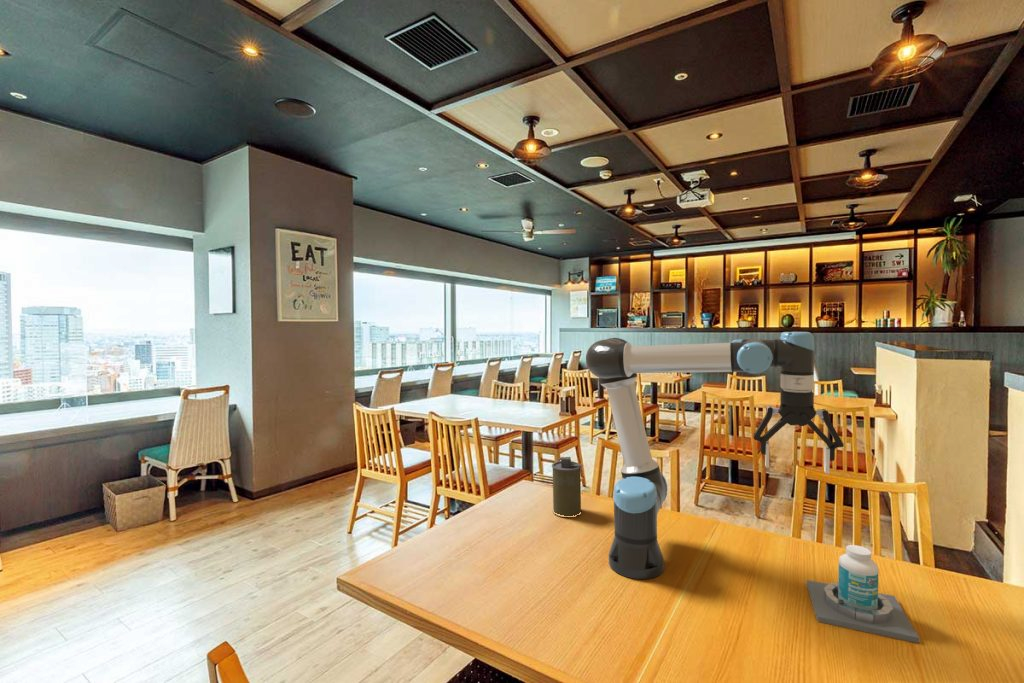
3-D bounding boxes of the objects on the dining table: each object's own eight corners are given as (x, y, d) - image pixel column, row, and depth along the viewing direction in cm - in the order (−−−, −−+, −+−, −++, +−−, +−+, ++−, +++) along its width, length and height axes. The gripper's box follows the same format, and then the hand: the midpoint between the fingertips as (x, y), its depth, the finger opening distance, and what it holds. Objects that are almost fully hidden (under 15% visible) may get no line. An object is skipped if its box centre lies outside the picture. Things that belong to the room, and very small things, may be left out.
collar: (830, 614, 104) (830, 603, 104) (820, 585, 116) (820, 575, 116) (900, 629, 99) (900, 617, 99) (882, 597, 111) (882, 586, 110)
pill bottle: (847, 614, 105) (848, 556, 104) (832, 595, 112) (832, 540, 111) (885, 617, 103) (886, 558, 103) (866, 598, 110) (867, 543, 110)
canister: (551, 517, 163) (550, 462, 162) (553, 505, 173) (552, 453, 172) (582, 519, 161) (581, 462, 160) (583, 507, 171) (582, 454, 170)
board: (817, 621, 104) (817, 616, 104) (806, 584, 119) (806, 579, 119) (919, 643, 97) (919, 637, 96) (894, 600, 111) (894, 595, 111)
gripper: (744, 390, 123) (744, 467, 124) (858, 394, 113) (857, 480, 113) (743, 386, 130) (743, 460, 131) (851, 390, 119) (850, 470, 120)
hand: (796, 469), depth 122 cm, fingers open, 13 cm apart
